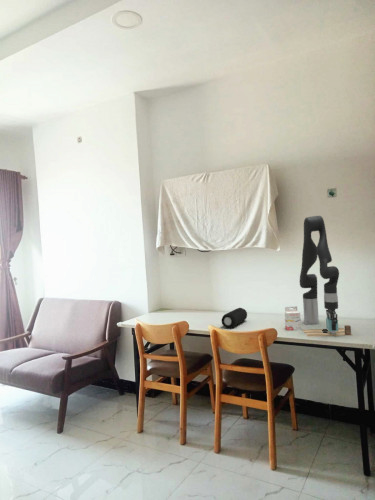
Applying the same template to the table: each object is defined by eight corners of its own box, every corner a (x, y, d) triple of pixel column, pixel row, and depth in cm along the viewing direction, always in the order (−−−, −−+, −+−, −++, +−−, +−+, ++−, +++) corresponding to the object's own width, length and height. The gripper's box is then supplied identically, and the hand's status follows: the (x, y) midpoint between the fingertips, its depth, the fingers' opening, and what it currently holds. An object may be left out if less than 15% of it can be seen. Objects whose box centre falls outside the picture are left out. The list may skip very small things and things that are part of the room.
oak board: (302, 330, 222) (302, 329, 222) (343, 329, 220) (343, 328, 220) (308, 337, 206) (308, 336, 206) (352, 336, 204) (352, 335, 204)
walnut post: (344, 333, 208) (344, 325, 208) (349, 333, 207) (349, 325, 207) (346, 335, 205) (346, 326, 205) (351, 334, 205) (350, 326, 205)
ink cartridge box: (287, 331, 222) (286, 308, 222) (285, 329, 227) (284, 306, 227) (301, 330, 222) (300, 307, 222) (298, 328, 227) (297, 305, 227)
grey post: (329, 333, 210) (329, 321, 210) (334, 333, 210) (333, 321, 210) (331, 334, 208) (330, 322, 208) (335, 334, 208) (335, 322, 207)
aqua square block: (326, 329, 212) (325, 318, 212) (335, 328, 211) (334, 317, 211) (329, 331, 207) (328, 320, 206) (338, 331, 206) (337, 319, 206)
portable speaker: (236, 320, 262) (235, 306, 262) (248, 321, 257) (248, 307, 257) (220, 328, 241) (219, 313, 241) (234, 329, 236) (233, 314, 235)
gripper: (320, 298, 216) (322, 326, 216) (328, 302, 202) (329, 332, 202) (333, 298, 215) (335, 325, 216) (341, 302, 201) (343, 332, 201)
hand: (332, 328), depth 209 cm, fingers closed on aqua square block, 5 cm apart
